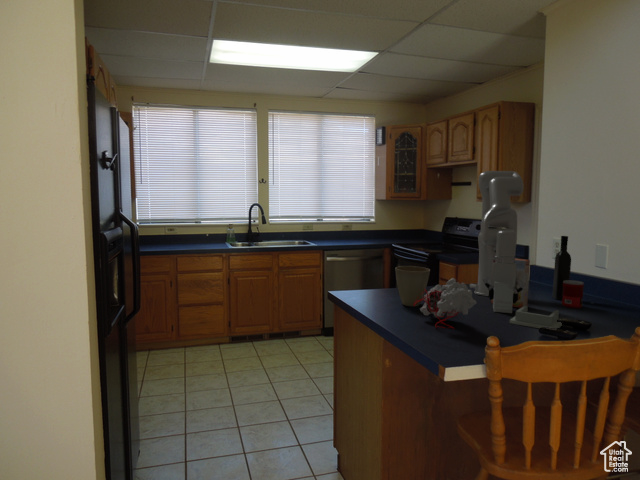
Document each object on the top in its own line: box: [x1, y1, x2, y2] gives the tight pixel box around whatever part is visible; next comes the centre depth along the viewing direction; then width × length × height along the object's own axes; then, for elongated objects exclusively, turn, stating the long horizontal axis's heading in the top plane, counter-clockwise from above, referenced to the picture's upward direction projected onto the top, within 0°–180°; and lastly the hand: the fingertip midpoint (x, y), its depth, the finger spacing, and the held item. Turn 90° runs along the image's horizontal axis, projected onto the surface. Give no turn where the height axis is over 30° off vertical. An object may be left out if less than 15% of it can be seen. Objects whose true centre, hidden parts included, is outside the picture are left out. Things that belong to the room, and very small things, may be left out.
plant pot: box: [394, 265, 431, 307], centre depth 200 cm, size 15×15×16 cm
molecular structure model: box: [412, 277, 477, 330], centre depth 169 cm, size 20×18×25 cm
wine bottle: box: [552, 235, 572, 301], centre depth 217 cm, size 6×6×30 cm
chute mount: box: [509, 305, 563, 329], centre depth 174 cm, size 16×14×5 cm
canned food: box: [561, 279, 585, 309], centre depth 203 cm, size 8×8×11 cm
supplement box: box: [492, 282, 513, 314], centre depth 192 cm, size 7×7×13 cm
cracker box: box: [490, 257, 531, 309], centre depth 203 cm, size 14×6×21 cm, turn 47°
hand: (502, 300), depth 192 cm, fingers closed on supplement box, 9 cm apart
